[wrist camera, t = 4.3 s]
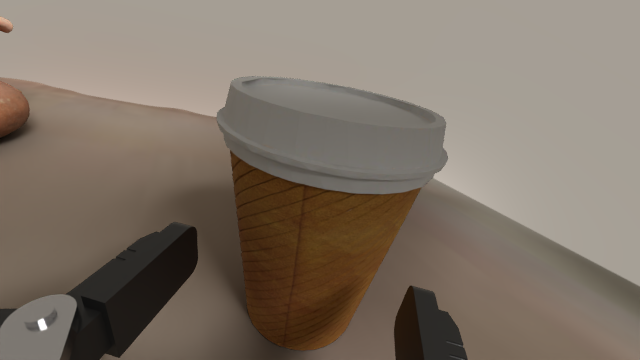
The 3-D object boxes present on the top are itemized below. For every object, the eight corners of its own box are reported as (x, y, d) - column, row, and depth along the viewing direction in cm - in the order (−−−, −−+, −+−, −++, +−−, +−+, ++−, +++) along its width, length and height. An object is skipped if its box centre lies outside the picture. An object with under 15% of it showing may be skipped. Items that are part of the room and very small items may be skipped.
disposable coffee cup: (296, 230, 22) (320, 77, 17) (403, 301, 18) (481, 118, 12) (181, 296, 15) (163, 69, 10) (309, 446, 10) (401, 157, 5)
